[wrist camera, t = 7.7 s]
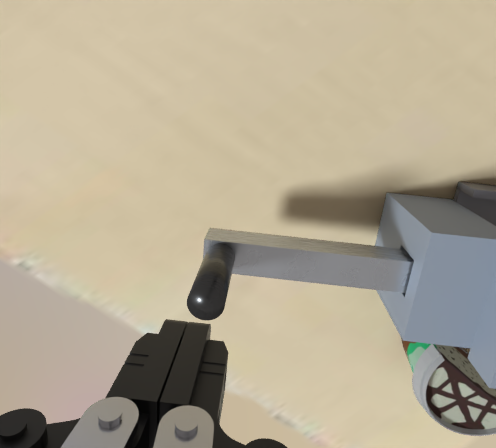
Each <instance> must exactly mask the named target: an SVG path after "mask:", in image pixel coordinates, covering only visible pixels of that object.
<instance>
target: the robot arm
mask: <svg viewBox="0 0 496 448" xmlns="http://www.w3.org/2000/svg"><path fill="white" fill-rule="evenodd" d="M210 331H211V325H210V324H203V323H194V322H189V323H188V322H185V321H176V320H167V319H166V320H165V321H164V324H163V326H162V328H161V330H160V332H159V334H153V333H147V334H145V335H144V336H143V337H141V338H140V339H139V340H138V341H136V343H135V345H134V346H133V348H132V350H131V352H130V355H129V356H128V357H127V360H126V361H125V364H124V365H123V367H122V368H121V371H120V372H119V374H118V376H117V378H116V380H115V381H114V383H113V385H112V387H111V389H110V391H109V393H108V394H107V396H106V398H105V399H102V400H100V401H98V402H96V403H94V404H93V405H91V406H90V407H89V408H88V409H87V410H86V411H85V413H84V414H83V416H82V417H81V418H79V419H76V420H72V421H66V422H59V423H53V424H46V418H45V417H44V415H43V414H42V413H41V412H39V411H37V410H34V409H18V410H13V411H10V412H8V413H5V414H3V415H1V416H0V448H287V447H286V446H285V445H283V444H282V443H280V442H278V441H275V440H272V439H257V440H254V441H251V442H249V443H248V444H247V445H244V444H241V443H239V442H237V441H235V440H233V439H231V438H230V437H229V436H227V435H226V434H225V433H224V431H223V430H222V429H221V427H220V425H219V423H220V416H221V410H222V403H223V398H224V391H225V382H226V371H227V360H228V351H227V348H226V346H225V344H224V342H223V341H215V340H210Z"/></svg>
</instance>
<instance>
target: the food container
mask: <svg viewBox="0 0 496 448" xmlns="http://www.w3.org/2000/svg"><path fill="white" fill-rule="evenodd" d="M401 339H402V338H401ZM402 343H403V347H404V350H405V353H406V355H407V358H408V361H409V363H410V366H411V368H412V371H413V378H412V384H413V390H414V394H415V396H416V398H417V400H418V402H419V403H420V404H421V406H422V407H423V408H424V409H425V411H426V412H427V413H428V414H429V415H430V416H431V417H432V418H433V419H434V420H435V421H436V422H438V423H439V424H440V425H442V426H443V427H445V428H447V429H449V430H451V431H453V432H456V433H460V434H464V435H471V436H484V435H491V434H496V389H493V388H489V387H488V386H487V384H486V383H485V382H484V380H483V379H482V377H481V376H480V375H479V373H478V372H477V371H476V369H475V368H474V366H473V365H472V364H471V362H470V361H469V360H468V355H469V353H468V352H466V351H465V350H464V349H463V348H461V347H454V346H445V345H437V344H428V343H419V342H410V341H403V340H402Z"/></svg>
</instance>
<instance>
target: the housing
mask: <svg viewBox="0 0 496 448" xmlns="http://www.w3.org/2000/svg"><path fill="white" fill-rule="evenodd" d="M375 246H381V247H390V248H399V249H405V250H406V251H407V252H408V254H409V255H410V256H411V257H412V258H413V260H414V263H413V267H412V271H411V275H410V279H409V283H408V286H407V290H406V293H400V292H391V291H382V290H377V292H378V294H379V296H380V298H381V300H382V302H383V303H384V305H385V307H386V309H387V311H388V313H389V315H390V317H391V319H392V321H393V323H394V325H395V326H396V328H397V330H398V332H399V334H400V336H401V338H402V340H403V341H410V342H419V343H428V344H437V345H445V346H454V347H463V348H471V349H470V352H469V355H468V360H469V361H470V362H471V364H472V365H473V366H474V368H475V369H476V371H477V372H478V373H479V375H480V376H481V377H482V379H483V380H484V382H485V383H486V384H487V386H488V387H489V388H493V389H496V226H495V225H493V224H491V223H490V222H488V221H486V220H485V219H483V218H482V217H480V216H478V215H477V214H475V213H473V212H472V211H470V210H468V209H467V208H465V207H463V206H462V205H460V204H458V203H457V202H455V201H454V200H452V199H443V198H434V197H424V196H415V195H405V194H396V193H387V194H386V198H385V203H384V208H383V212H382V217H381V221H380V226H379V230H378V235H377V240H376V244H375Z"/></svg>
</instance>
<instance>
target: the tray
mask: <svg viewBox="0 0 496 448" xmlns="http://www.w3.org/2000/svg"><path fill="white" fill-rule="evenodd" d="M454 201H455V202H457V203H458V204H460V205H462V206H463V207H465V208H467V209H468V210H470V211H472V212H473V213H475V214H477V215H478V216H480V217H482V218H483V219H485V220H486V221H488V222H490V223H491V224H493V225H495V226H496V185H487V184H477V183H468V182H458V186H457V189H456V193H455V196H454Z"/></svg>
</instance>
